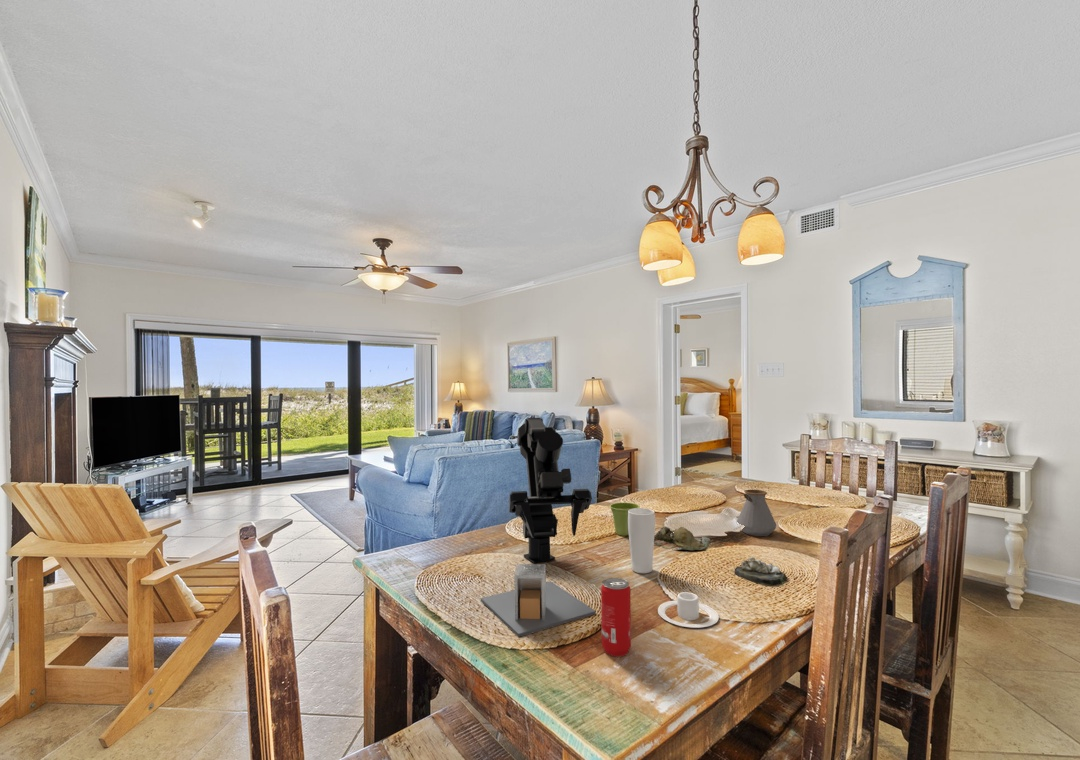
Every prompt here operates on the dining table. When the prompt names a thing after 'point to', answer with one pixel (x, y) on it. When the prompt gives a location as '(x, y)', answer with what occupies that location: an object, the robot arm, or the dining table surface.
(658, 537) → the olive green lumpy piece
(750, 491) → the coffee pot
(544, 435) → the robot arm
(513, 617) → the slate board
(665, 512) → the dining table surface
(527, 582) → the steel cover
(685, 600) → the candle holder
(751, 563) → the stone carving
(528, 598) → the orange block
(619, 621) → the beverage can
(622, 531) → the plant pot
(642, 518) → the drinking glass
